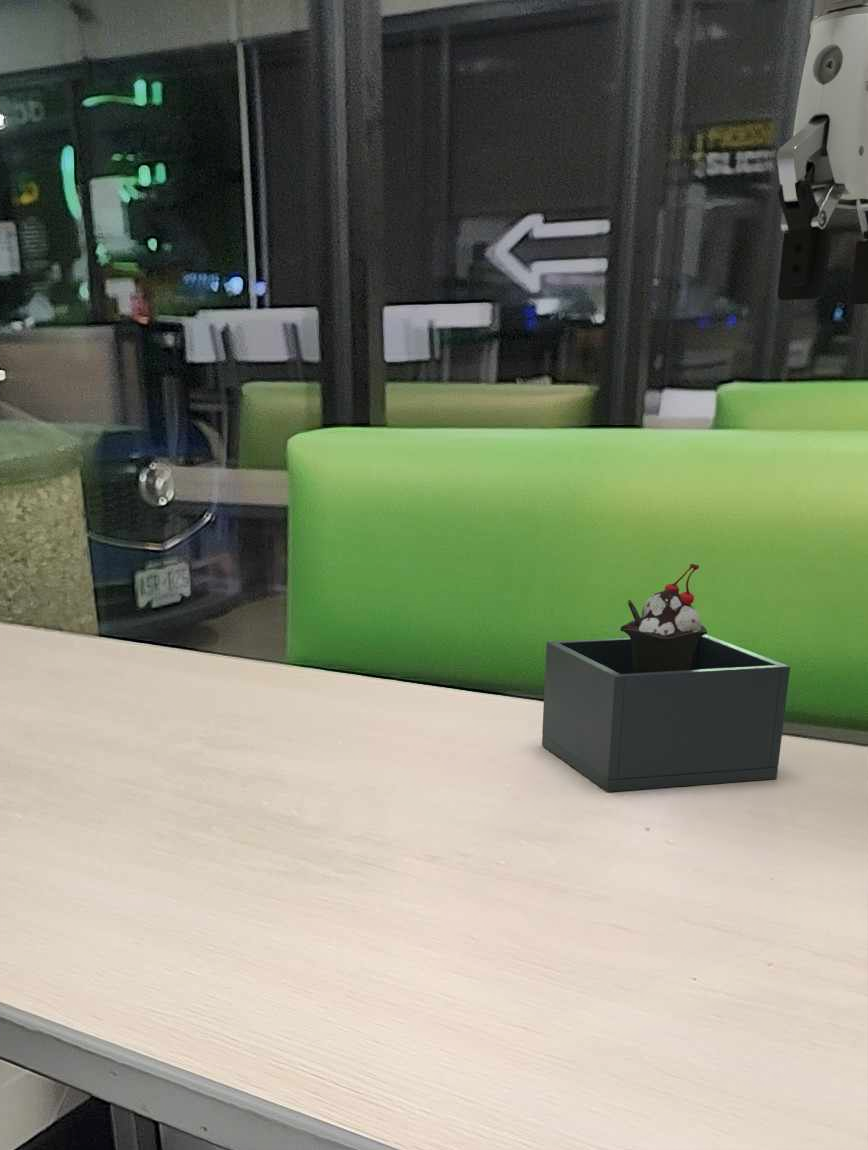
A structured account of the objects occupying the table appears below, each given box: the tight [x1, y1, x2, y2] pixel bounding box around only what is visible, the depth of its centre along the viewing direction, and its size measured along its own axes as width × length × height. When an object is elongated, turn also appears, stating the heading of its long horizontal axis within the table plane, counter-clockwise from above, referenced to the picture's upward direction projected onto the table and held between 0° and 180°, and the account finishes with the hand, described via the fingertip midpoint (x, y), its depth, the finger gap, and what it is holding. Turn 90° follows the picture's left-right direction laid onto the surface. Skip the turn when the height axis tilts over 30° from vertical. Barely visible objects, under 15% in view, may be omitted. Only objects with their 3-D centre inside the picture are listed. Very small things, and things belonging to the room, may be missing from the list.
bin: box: [541, 634, 791, 793], centre depth 109 cm, size 15×15×9 cm
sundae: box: [620, 563, 708, 673], centre depth 108 cm, size 7×7×15 cm
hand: (836, 301), depth 92 cm, fingers open, 9 cm apart
